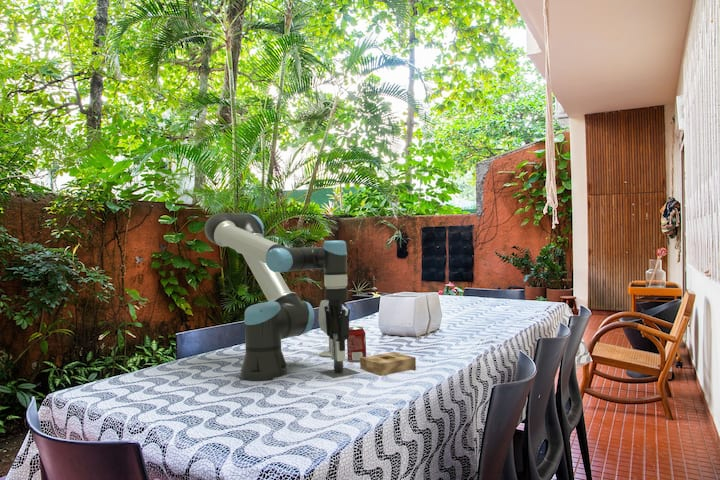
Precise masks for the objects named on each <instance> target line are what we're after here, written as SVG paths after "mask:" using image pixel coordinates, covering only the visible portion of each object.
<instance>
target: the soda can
mask: <svg viewBox="0 0 720 480" xmlns="http://www.w3.org/2000/svg"><path fill="white" fill-rule="evenodd" d="M366 339H367V338H366V331H365V329H364V327H363V326H349V339H346V346H347V347H346V349H347V351H346V352H347V361H348V362H350V363H351V362H353V363H360V358H362V357H367V341H366Z"/></svg>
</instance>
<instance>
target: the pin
mask: <svg viewBox="0 0 720 480" xmlns="http://www.w3.org/2000/svg"><path fill="white" fill-rule="evenodd" d="M336 339H338V336H337V333H334V334H333V352H334V359H333V369H334V371H335V372H342V371H343V368H344V361H337V346H336Z"/></svg>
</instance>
